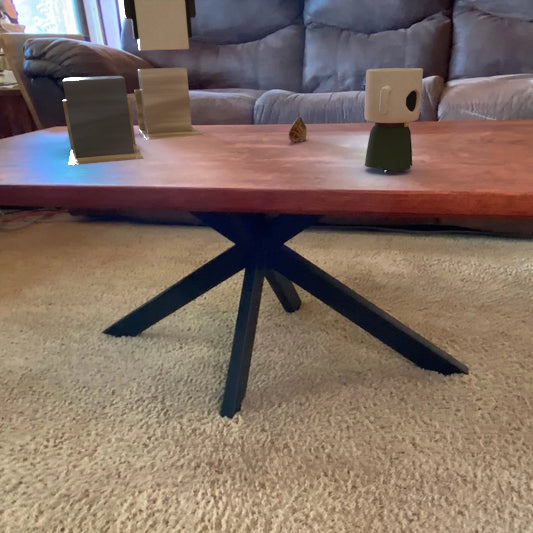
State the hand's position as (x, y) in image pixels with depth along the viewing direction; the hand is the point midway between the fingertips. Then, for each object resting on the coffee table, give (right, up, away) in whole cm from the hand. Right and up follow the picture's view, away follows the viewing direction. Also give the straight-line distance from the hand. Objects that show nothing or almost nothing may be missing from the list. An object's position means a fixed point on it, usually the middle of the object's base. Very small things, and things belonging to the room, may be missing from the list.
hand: (162, 38), depth 94 cm
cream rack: (0, -16, +10) cm, 19 cm away
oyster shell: (+25, -19, +1) cm, 31 cm away
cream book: (0, -2, +1) cm, 2 cm away
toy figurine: (+36, -29, -24) cm, 52 cm away
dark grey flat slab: (-7, -25, -10) cm, 28 cm away
